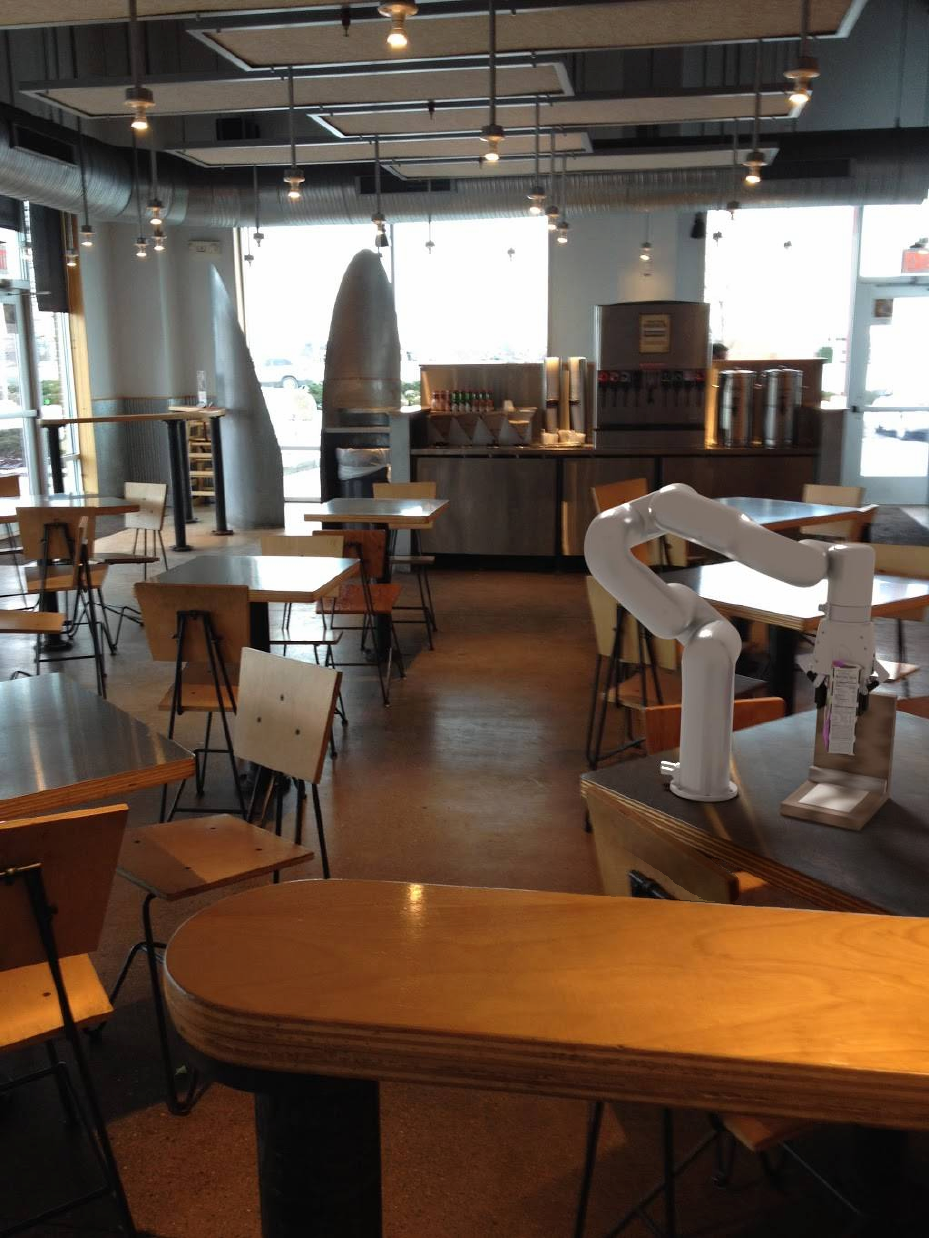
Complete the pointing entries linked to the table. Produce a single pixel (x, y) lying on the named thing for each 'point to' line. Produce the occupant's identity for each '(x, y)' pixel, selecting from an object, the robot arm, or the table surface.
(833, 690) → the candy bar box
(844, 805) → the display stand
